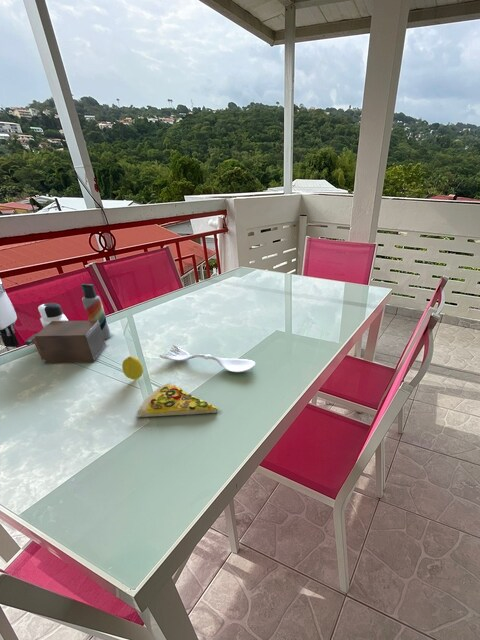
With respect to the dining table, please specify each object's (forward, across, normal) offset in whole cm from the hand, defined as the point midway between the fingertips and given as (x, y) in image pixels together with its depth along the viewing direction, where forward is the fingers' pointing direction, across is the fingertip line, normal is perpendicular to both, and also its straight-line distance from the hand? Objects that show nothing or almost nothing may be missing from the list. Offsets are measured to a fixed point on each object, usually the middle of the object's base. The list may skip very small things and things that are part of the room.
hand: (12, 345), depth 108 cm
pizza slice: (+2, +35, +58) cm, 67 cm away
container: (+4, -13, +8) cm, 16 cm away
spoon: (+2, +11, +64) cm, 64 cm away
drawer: (+2, 0, +15) cm, 15 cm away
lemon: (+3, +19, +42) cm, 46 cm away
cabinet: (+3, 0, +19) cm, 19 cm away
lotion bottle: (+3, -14, +22) cm, 27 cm away
